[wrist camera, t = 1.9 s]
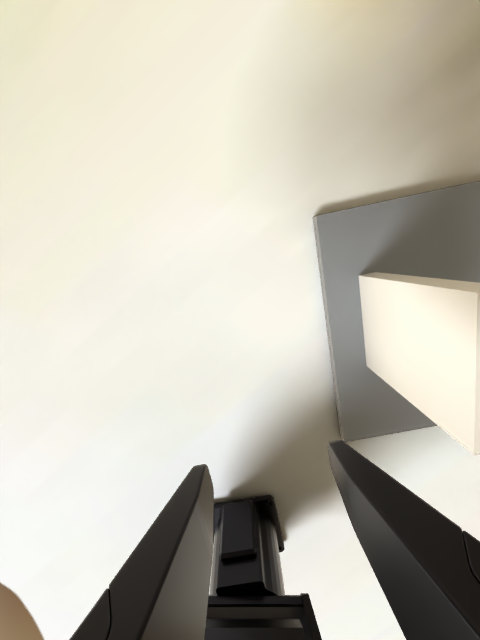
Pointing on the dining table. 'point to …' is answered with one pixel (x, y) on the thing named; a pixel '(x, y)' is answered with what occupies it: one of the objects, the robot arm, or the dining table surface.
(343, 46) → the dining table surface
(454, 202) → the slate board
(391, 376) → the tile
